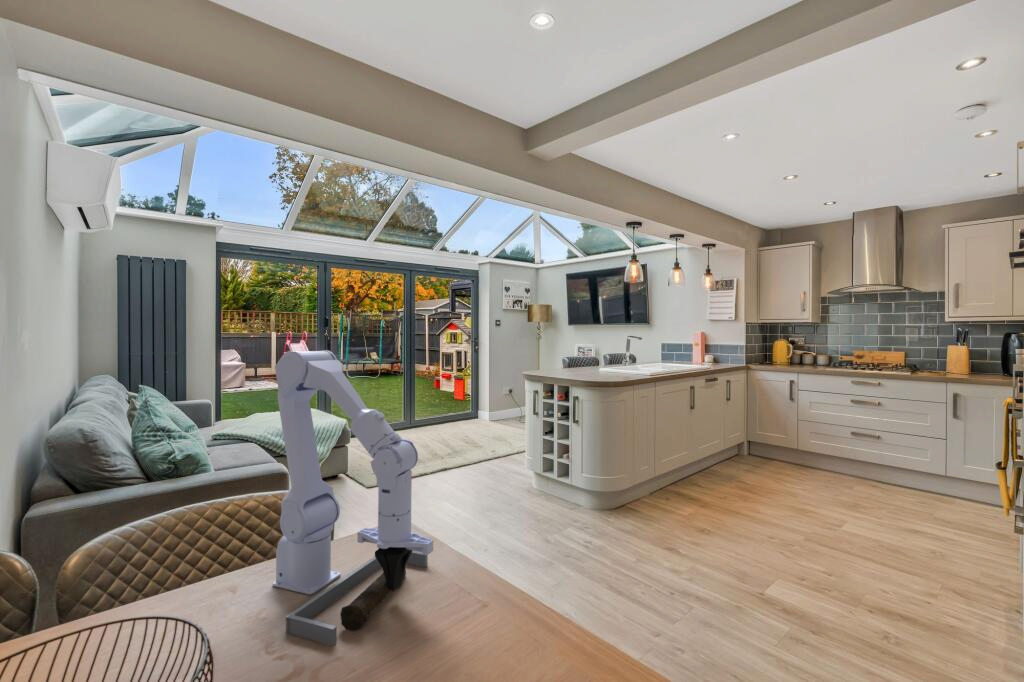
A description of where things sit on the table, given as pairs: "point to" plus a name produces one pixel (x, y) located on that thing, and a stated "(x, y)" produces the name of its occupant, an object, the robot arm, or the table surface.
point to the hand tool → (365, 603)
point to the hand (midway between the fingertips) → (394, 587)
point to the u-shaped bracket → (323, 632)
